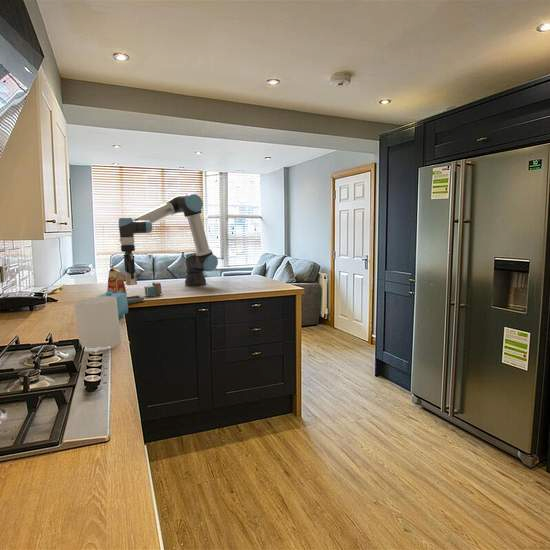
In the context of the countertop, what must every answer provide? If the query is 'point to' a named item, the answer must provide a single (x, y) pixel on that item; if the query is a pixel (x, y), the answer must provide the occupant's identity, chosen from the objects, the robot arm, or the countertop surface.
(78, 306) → the container
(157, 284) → the teal brown block
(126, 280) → the stub
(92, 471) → the countertop surface
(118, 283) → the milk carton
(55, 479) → the countertop surface
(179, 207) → the robot arm
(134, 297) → the tray
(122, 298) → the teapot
